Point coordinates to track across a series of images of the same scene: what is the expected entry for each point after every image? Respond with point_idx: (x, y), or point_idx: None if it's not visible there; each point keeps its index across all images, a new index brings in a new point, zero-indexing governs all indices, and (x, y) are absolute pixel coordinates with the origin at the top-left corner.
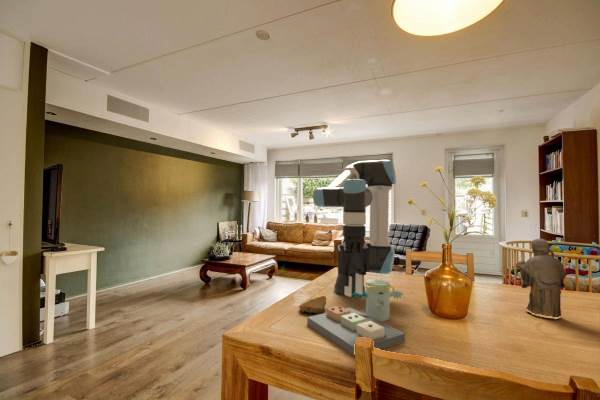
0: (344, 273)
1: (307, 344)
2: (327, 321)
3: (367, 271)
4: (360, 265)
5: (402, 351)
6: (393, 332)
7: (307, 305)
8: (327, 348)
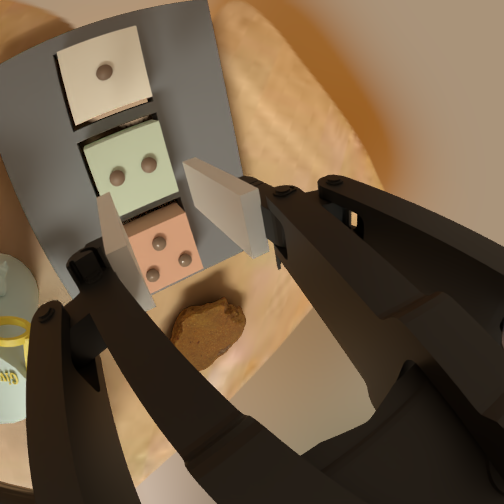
0: (335, 178)
1: (287, 112)
2: None
3: (46, 306)
4: (151, 321)
5: (39, 14)
6: (12, 83)
7: (228, 328)
8: (248, 75)
